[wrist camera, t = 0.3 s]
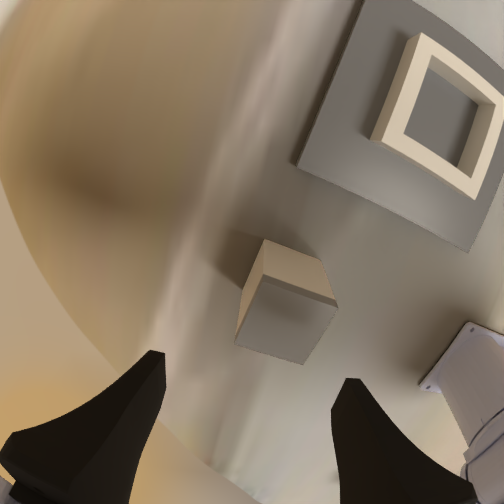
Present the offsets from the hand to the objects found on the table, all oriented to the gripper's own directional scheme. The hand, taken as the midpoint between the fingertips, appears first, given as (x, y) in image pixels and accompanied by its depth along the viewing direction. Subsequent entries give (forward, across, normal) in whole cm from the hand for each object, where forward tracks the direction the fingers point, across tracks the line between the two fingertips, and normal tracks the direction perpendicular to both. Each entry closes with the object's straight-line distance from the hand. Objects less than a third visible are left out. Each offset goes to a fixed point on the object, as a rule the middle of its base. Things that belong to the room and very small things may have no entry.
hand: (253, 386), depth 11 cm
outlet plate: (+10, -9, -13) cm, 19 cm away
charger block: (+10, -1, 0) cm, 10 cm away
